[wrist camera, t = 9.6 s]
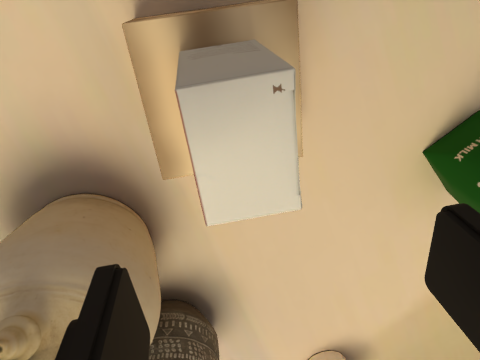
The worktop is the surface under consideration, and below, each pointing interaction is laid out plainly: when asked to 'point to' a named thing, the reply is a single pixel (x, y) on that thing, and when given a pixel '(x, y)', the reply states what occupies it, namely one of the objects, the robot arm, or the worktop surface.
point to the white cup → (328, 356)
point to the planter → (183, 334)
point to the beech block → (193, 37)
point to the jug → (69, 270)
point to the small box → (240, 130)
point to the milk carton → (459, 161)
